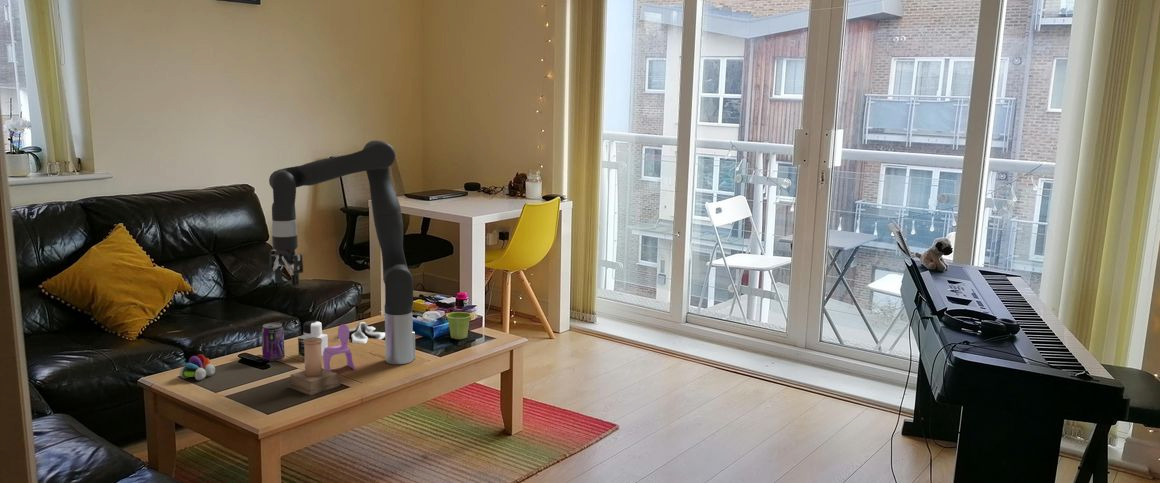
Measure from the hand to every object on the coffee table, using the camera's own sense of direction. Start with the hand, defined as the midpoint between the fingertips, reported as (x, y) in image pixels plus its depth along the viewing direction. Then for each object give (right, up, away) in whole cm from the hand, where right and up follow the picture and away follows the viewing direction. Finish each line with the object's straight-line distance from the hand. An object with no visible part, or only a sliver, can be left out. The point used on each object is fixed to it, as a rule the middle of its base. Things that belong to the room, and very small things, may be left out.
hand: (286, 284), depth 273 cm
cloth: (+10, -23, +49) cm, 55 cm away
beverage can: (-11, -27, +21) cm, 36 cm away
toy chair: (+14, -29, +11) cm, 34 cm away
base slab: (+10, -32, -5) cm, 34 cm away
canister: (+10, -28, -6) cm, 30 cm away
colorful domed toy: (-29, -30, +2) cm, 42 cm away
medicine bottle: (+1, -26, +25) cm, 36 cm away
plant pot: (+48, -23, +50) cm, 73 cm away
